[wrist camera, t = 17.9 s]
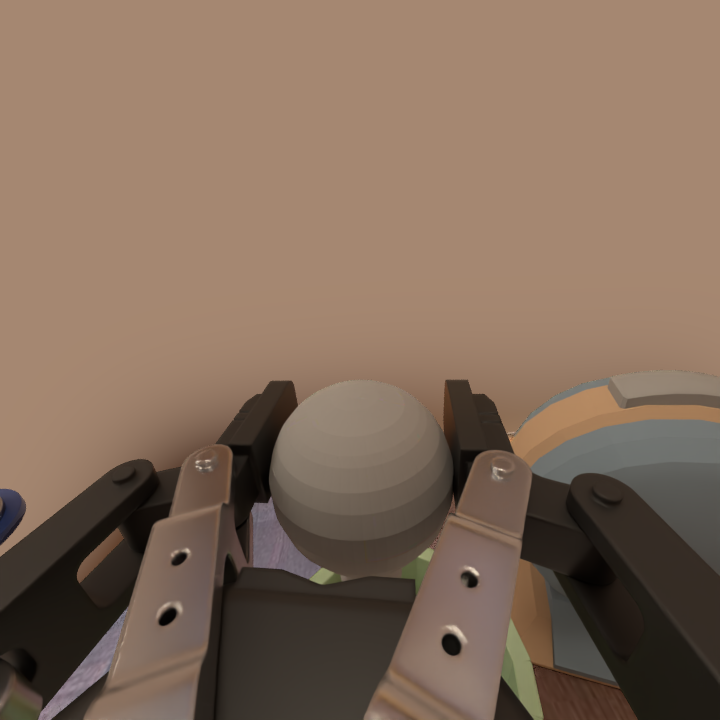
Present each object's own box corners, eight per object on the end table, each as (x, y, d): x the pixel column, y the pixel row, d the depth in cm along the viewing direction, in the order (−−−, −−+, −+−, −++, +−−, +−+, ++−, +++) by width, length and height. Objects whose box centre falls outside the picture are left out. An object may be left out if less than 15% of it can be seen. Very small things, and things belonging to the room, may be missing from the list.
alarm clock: (687, 556, 26) (811, 342, 18) (788, 737, 17) (1106, 491, 9) (485, 519, 30) (510, 332, 22) (490, 651, 22) (532, 429, 13)
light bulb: (474, 642, 12) (508, 416, 8) (334, 733, 11) (273, 507, 6) (399, 524, 17) (393, 337, 12) (291, 573, 15) (239, 376, 11)
